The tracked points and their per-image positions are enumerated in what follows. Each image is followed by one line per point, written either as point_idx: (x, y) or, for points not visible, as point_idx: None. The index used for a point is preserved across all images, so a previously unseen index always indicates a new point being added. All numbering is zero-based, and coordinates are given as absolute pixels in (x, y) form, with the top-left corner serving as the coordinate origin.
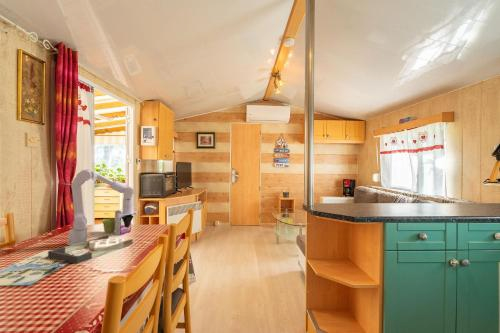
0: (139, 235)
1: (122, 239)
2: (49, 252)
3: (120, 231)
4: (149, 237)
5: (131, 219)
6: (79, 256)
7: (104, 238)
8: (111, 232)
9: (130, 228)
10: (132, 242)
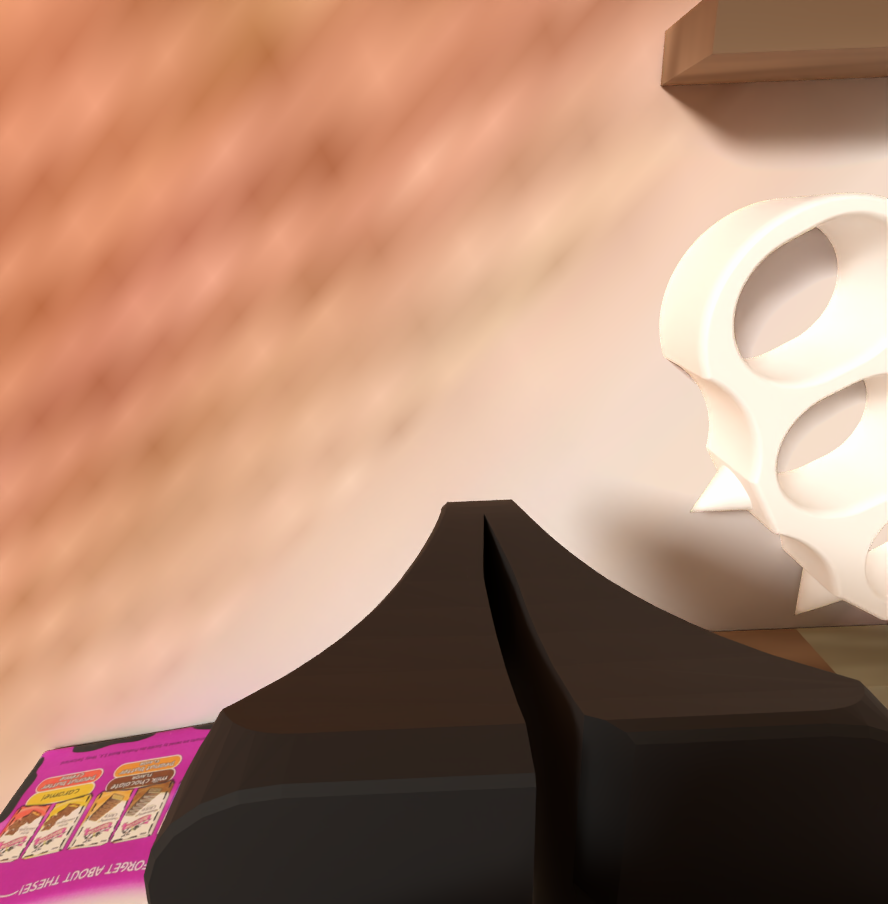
0: (94, 461)
1: (736, 296)
2: None
3: None
4: (40, 144)
5: (374, 638)
6: None
7: None
8: None
9: (23, 799)
10: (691, 15)
